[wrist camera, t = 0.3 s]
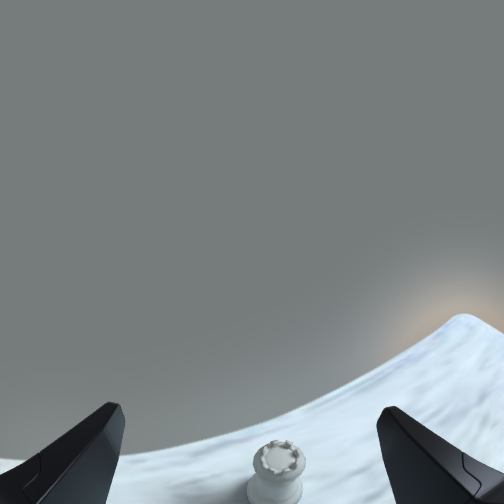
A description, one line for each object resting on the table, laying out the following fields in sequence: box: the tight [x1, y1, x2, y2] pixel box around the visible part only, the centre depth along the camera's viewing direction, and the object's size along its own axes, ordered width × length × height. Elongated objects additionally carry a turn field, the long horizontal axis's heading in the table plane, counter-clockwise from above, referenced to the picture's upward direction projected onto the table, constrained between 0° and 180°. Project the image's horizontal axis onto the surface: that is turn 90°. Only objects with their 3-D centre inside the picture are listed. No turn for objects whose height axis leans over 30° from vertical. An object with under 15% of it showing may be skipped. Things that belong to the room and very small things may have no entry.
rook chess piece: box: [246, 440, 306, 504], centre depth 15 cm, size 4×4×8 cm
